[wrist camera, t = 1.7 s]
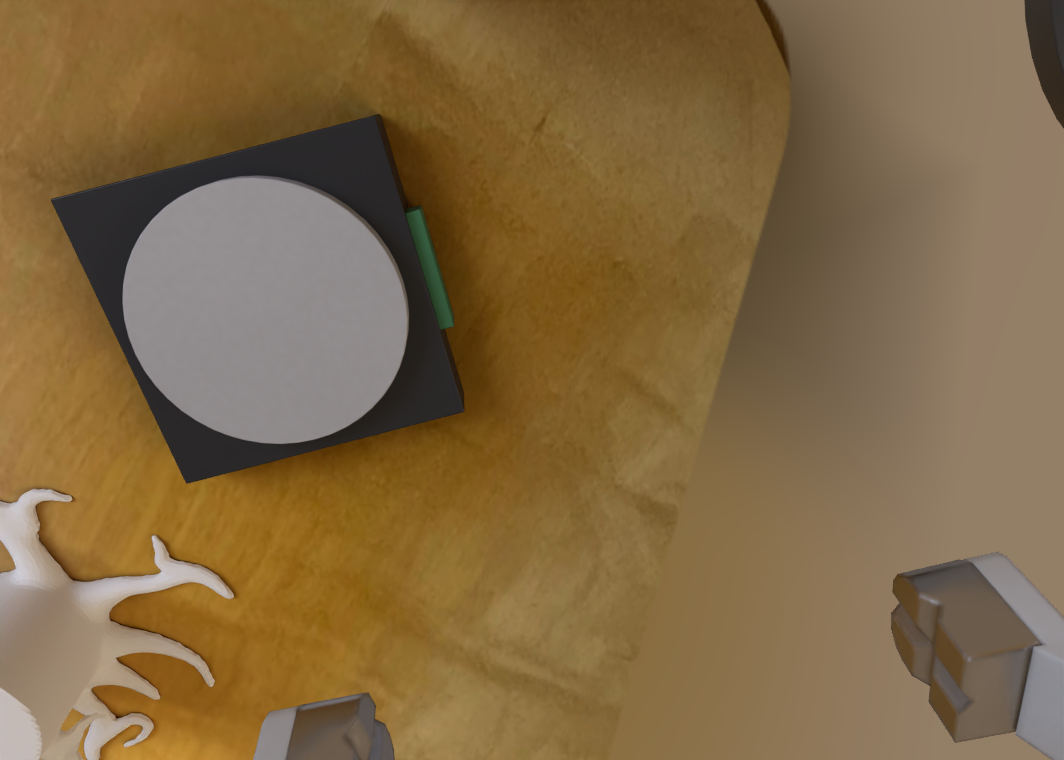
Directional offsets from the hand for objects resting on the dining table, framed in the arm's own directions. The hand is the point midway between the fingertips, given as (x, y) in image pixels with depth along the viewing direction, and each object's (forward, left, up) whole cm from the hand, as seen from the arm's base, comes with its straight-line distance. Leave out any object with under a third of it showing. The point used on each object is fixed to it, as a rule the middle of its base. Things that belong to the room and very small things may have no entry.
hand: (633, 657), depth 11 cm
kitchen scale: (+12, -1, -29) cm, 31 cm away
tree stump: (+32, +14, -29) cm, 46 cm away
